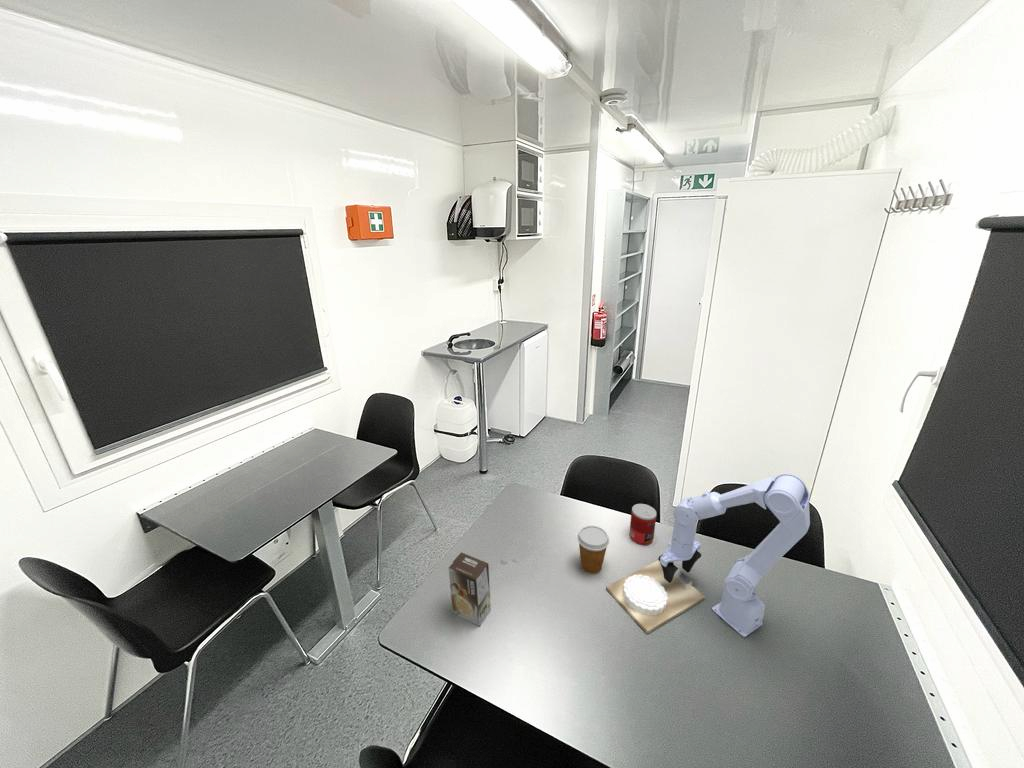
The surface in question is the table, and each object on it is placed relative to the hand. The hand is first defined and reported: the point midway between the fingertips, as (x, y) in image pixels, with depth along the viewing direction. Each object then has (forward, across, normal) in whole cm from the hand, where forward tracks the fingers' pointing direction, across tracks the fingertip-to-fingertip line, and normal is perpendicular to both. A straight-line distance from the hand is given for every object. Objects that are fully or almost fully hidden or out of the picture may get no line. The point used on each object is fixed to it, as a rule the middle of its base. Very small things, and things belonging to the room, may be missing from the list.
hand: (676, 575), depth 117 cm
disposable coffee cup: (+3, +18, -17) cm, 25 cm away
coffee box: (+3, +57, -20) cm, 60 cm away
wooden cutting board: (+3, +9, 0) cm, 9 cm away
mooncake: (+3, +13, 0) cm, 13 cm away
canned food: (+3, -5, -19) cm, 20 cm away
